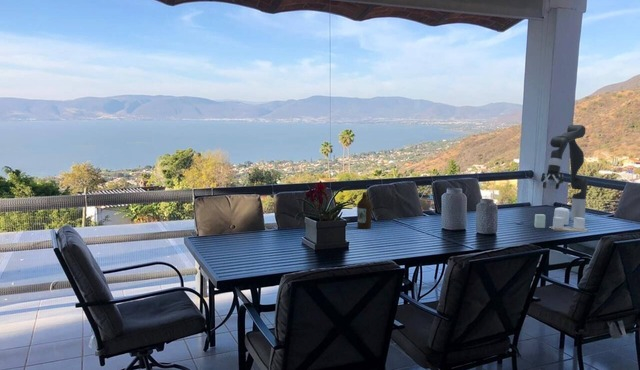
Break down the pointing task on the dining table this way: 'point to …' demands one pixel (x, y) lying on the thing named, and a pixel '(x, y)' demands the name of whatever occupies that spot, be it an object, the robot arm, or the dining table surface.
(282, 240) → the dining table surface
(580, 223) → the mounted modules
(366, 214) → the olive oil
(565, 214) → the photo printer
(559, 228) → the metal rail
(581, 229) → the rail board
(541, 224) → the loose module
